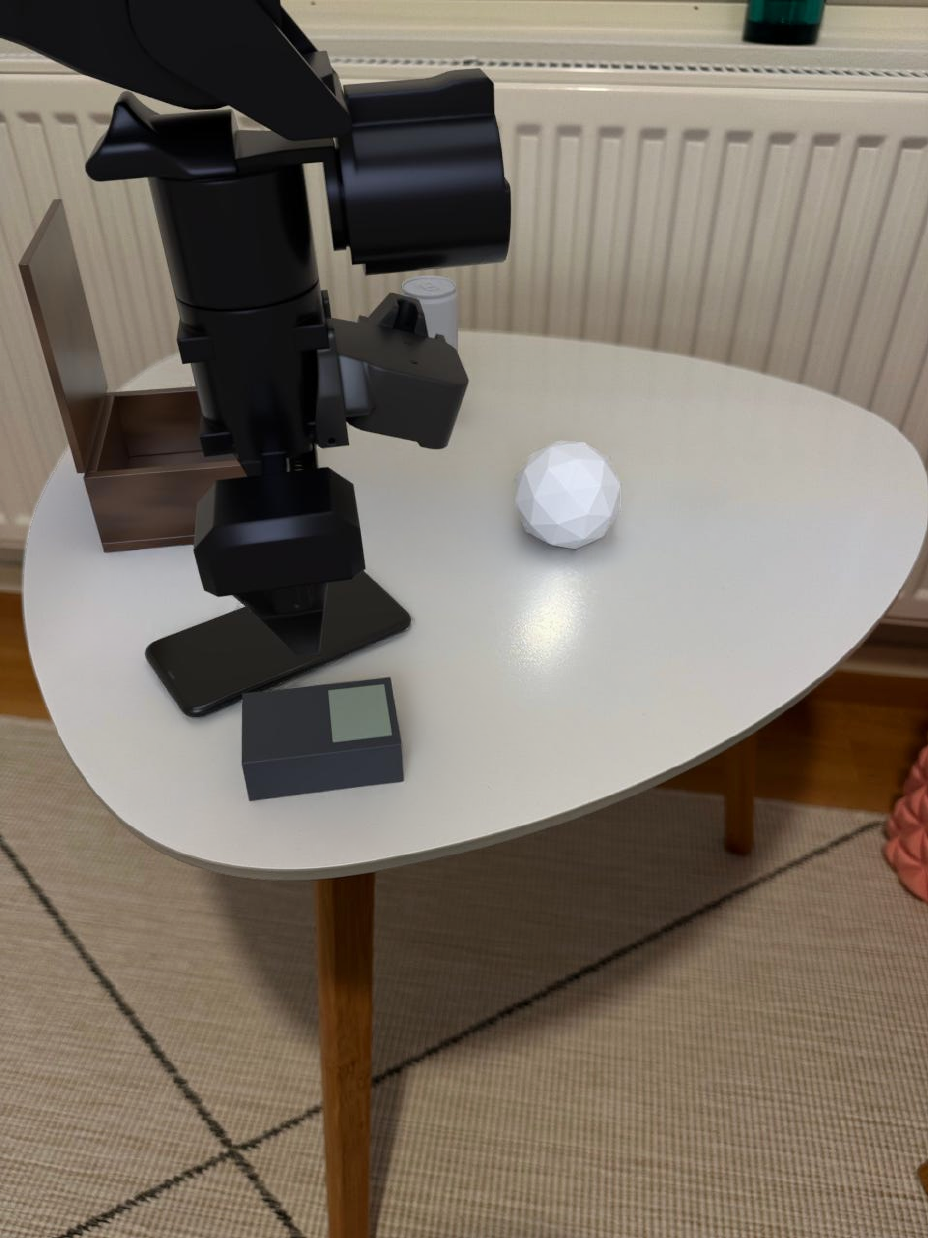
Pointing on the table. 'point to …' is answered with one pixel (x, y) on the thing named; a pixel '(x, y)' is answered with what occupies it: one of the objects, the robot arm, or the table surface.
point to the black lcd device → (320, 738)
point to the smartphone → (267, 647)
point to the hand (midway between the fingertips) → (303, 594)
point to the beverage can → (436, 304)
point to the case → (151, 469)
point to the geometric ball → (567, 494)
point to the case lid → (65, 330)
